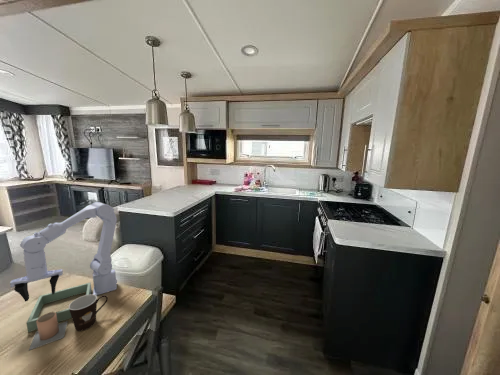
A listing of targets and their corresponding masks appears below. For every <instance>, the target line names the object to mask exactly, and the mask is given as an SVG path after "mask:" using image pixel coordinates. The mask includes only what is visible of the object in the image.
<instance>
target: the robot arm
mask: <svg viewBox="0 0 500 375" xmlns="http://www.w3.org/2000/svg"><path fill="white" fill-rule="evenodd" d="M97 217H98V218H99V219H100V220H101V221H102V222H103V223H102V228H101V233H100V238H99V242H98V246H97V251H96V252H97V253H96V254H95V255H94V256H93V258H92V261H91V262H90V265H89V268H90V269H91V270H92V271H93V272H92V280H93V292H92V294H93V295H96V296H99V295H102V294H105V293H109V292H112V291H115V290H117V284H118V280H117V276H116V269H113V263H112V260H113V259H112V256H111V251H112V245H113V240H114V236H115V231H116V225H117V221H118V218H117V215H116V213H115V208H114V207H113V206H111V205H109V204H107V203H103V202H101V201H94V202H92V203H91V204H89V205H86V206H85V207H84V208H82V209H80V210H79V211H78V212H76V213H74V214H73V215H71V216H70V217H68V218H66V219H65V220H63V221H61V222H53V223H49V224H47V227H45V228H43V229H41V230H39V231H35V232H33V233H32V235H28V236H25V237H24V238H23V239H22V240H21V241H20V244H19V246H20V247H21V248H22V249H23V259H24V260H23V261H24V268H25V273H26V276H23V277H18V278H16V279H15V278H14V279H11V280H10V282H9V286H10V288H13V287H14V288H13V289H14V290H13V291H14V292H16V293H18V294H19V295H20V296H21V297H22V298H23V300H24V302H28V301H29V299H30V293H29V289H28V283H32V282H38V281H40V280H41V281H42V280H44V279H48V278H49V284H50V288H51V290H50V291H51V293H52V294H54V293H55V292H56V286H57V283H58V280H59V278H60V277H61V276H63V274H64V270H63V269H62V268H61V269H53V270H48V264H47V258H46V257H47V256H46V252H45V247H46V246H47V244H49V243H51V242H53V241H54V240H57V239H58V238H60V237H61V236H63V235H64V234H65V233H66V231H67V229H69V228H71V227H72V226H74V225H76V224H78V223H81V222H82V221H83V220H86V219H88V218H89V219H91V218H97Z"/></svg>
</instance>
